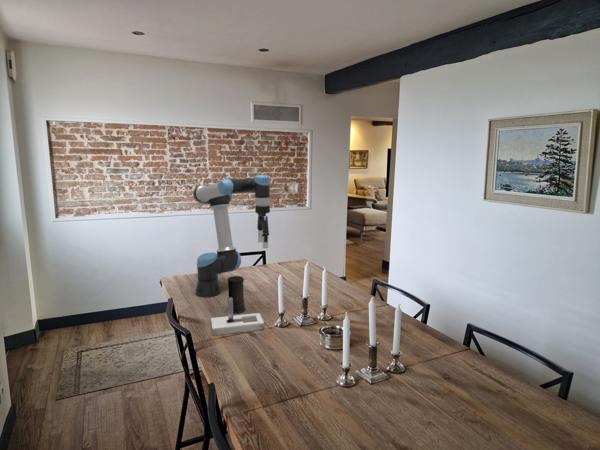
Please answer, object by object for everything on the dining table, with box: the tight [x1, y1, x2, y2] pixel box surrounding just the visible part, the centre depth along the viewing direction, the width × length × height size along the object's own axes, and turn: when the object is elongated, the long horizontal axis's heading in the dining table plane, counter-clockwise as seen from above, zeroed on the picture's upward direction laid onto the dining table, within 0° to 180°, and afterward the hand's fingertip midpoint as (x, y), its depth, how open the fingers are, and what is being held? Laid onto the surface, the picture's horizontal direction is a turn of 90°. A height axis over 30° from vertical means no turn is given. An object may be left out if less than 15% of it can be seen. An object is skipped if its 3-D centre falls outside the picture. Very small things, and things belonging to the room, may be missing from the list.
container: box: [227, 275, 246, 315], centre depth 208 cm, size 9×9×18 cm
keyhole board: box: [210, 312, 265, 336], centre depth 190 cm, size 12×24×3 cm, turn 106°
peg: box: [227, 296, 234, 323], centre depth 188 cm, size 5×5×15 cm
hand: (263, 245), depth 208 cm, fingers open, 13 cm apart
